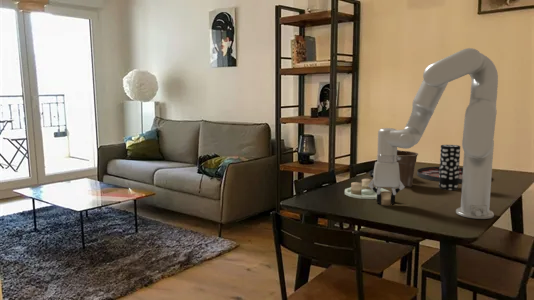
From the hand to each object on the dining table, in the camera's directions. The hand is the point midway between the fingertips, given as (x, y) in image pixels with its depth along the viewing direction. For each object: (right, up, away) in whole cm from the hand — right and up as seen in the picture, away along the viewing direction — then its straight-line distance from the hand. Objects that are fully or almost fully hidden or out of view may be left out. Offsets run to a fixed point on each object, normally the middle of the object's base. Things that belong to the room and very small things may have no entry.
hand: (385, 203), depth 175 cm
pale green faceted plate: (-4, +2, +14) cm, 15 cm away
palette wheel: (+50, +7, +55) cm, 75 cm away
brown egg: (0, 0, 0) cm, 0 cm away
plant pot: (+16, +4, +33) cm, 37 cm away
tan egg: (-10, +2, +12) cm, 15 cm away
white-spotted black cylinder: (+37, +4, +27) cm, 46 cm away
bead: (-3, +3, +19) cm, 20 cm away
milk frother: (+14, +7, +53) cm, 55 cm away
